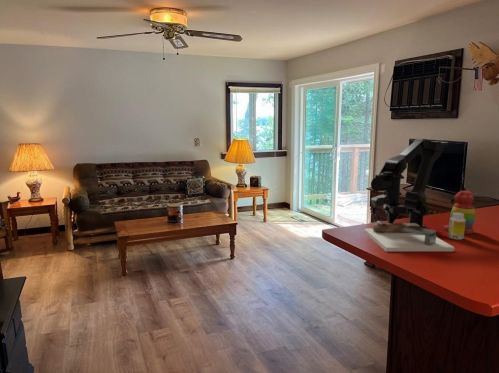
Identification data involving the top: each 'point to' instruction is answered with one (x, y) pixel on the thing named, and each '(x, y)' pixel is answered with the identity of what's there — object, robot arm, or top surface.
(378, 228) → the brown wooden bar
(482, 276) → the top surface
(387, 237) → the board
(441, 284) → the top surface
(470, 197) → the stacking bear
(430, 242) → the keeper
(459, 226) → the supplement bottle
